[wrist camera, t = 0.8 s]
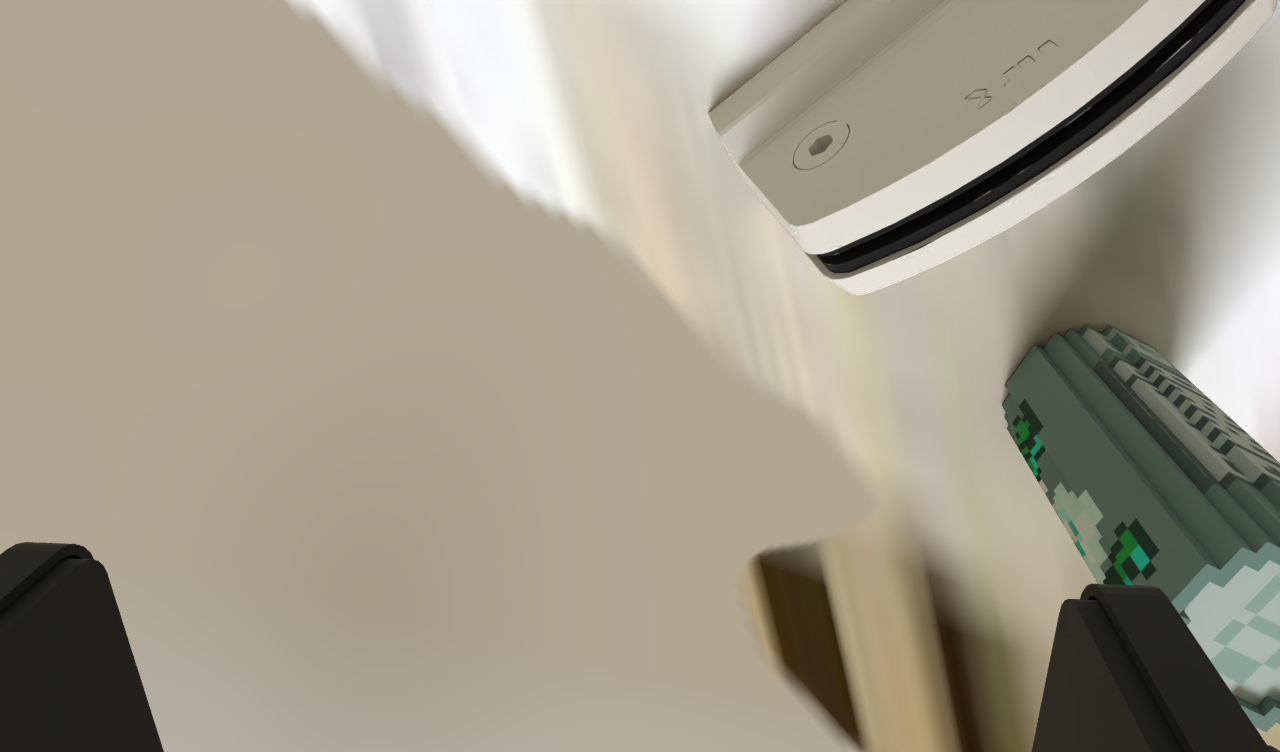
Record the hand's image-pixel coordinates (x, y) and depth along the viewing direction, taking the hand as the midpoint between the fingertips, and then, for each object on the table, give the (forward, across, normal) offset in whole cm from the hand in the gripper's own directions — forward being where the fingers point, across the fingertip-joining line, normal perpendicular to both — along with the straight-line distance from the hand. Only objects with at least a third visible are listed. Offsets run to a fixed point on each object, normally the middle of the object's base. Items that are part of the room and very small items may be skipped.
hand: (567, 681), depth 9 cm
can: (+29, -16, +10) cm, 35 cm away
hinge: (+29, -9, -3) cm, 31 cm away
